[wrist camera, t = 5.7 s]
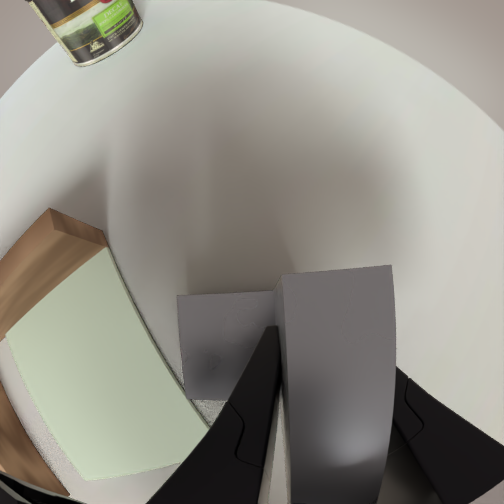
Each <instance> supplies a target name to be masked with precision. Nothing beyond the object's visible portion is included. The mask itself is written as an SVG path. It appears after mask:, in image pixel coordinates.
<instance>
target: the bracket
mask: <svg viewBox="0 0 504 504" xmlns="http://www.w3.org/2000/svg"><path fill="white" fill-rule="evenodd" d="M177 305H178V321H179V335H180V347H181V358H182V368H183V377H184V386H185V394H186V399H194V400H228V398H229V396H230V394H231V393H232V391H233V389H234V387H235V385H236V383H237V382H238V380H239V378H240V376H241V374H242V372H243V370H244V368H245V367H246V365H247V363H248V361H249V359H250V357H251V355H252V353H253V351H254V349H255V347H256V345H257V343H258V341H259V339H260V337H261V336H262V334H263V332H264V330H265V328H266V326H270V325H277V326H278V332H279V342H280V352H281V391H280V410H281V422H282V434H283V446H284V459H285V472H286V486H287V500H288V504H377V500H378V496H379V492H380V488H381V484H382V479H383V475H384V470H385V465H386V459H387V454H388V447H389V441H390V434H391V426H392V417H393V406H394V393H395V375H396V319H395V300H394V286H393V275H392V266H391V265H384V266H374V267H363V268H353V269H342V270H331V271H319V272H307V273H294V274H282V275H281V277H280V279H279V281H278V283H277V284H276V286H275V288H274V290H270V291H256V292H240V293H222V294H201V295H177Z"/></svg>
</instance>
